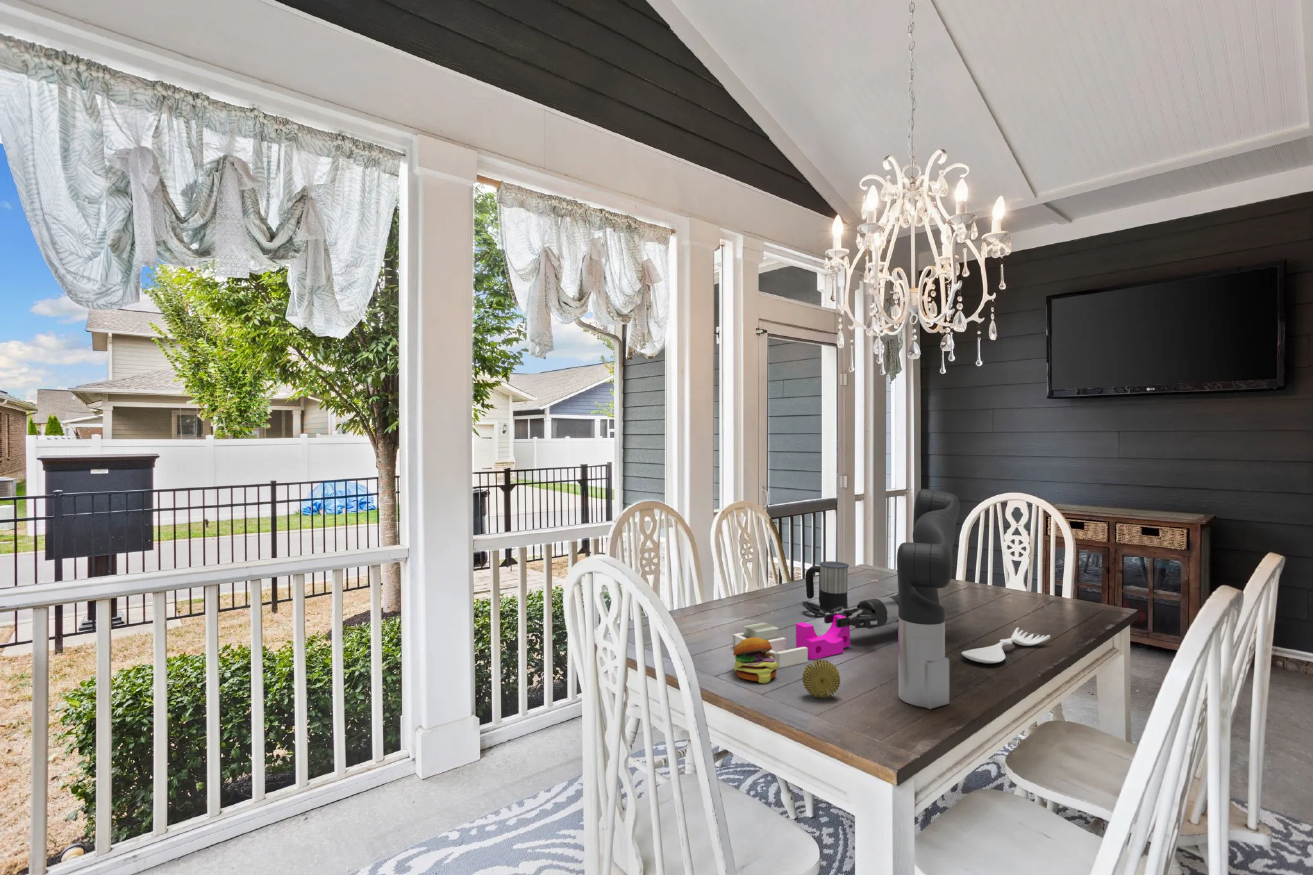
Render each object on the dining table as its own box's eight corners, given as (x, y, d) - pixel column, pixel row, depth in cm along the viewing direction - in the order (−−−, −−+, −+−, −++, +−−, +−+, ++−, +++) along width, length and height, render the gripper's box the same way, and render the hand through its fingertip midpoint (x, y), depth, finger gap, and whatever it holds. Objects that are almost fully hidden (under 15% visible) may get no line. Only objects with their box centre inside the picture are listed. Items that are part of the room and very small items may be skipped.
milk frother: (848, 607, 214) (848, 561, 214) (849, 620, 199) (849, 571, 199) (804, 604, 218) (804, 559, 218) (801, 616, 203) (801, 569, 203)
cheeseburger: (745, 686, 147) (740, 640, 149) (727, 681, 156) (723, 638, 159) (786, 681, 149) (780, 635, 152) (766, 676, 159) (761, 633, 162)
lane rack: (807, 661, 163) (807, 647, 163) (775, 668, 158) (775, 654, 158) (763, 641, 179) (763, 628, 178) (732, 647, 174) (732, 634, 174)
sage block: (779, 651, 171) (779, 628, 171) (757, 655, 168) (757, 632, 168) (764, 644, 177) (764, 622, 177) (743, 648, 173) (743, 626, 173)
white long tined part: (1052, 646, 175) (1052, 633, 175) (989, 672, 156) (990, 657, 156) (1017, 637, 182) (1017, 625, 182) (954, 661, 163) (954, 647, 163)
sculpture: (837, 693, 143) (837, 657, 143) (842, 701, 139) (842, 663, 139) (800, 693, 143) (800, 656, 143) (804, 700, 139) (804, 663, 139)
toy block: (812, 659, 164) (811, 630, 164) (796, 652, 170) (795, 623, 170) (856, 648, 171) (856, 620, 171) (839, 642, 177) (839, 614, 176)
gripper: (858, 593, 187) (812, 601, 179) (898, 604, 174) (850, 613, 166) (859, 619, 187) (812, 628, 179) (898, 632, 174) (850, 643, 166)
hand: (831, 621), depth 173 cm, fingers closed on toy block, 4 cm apart
